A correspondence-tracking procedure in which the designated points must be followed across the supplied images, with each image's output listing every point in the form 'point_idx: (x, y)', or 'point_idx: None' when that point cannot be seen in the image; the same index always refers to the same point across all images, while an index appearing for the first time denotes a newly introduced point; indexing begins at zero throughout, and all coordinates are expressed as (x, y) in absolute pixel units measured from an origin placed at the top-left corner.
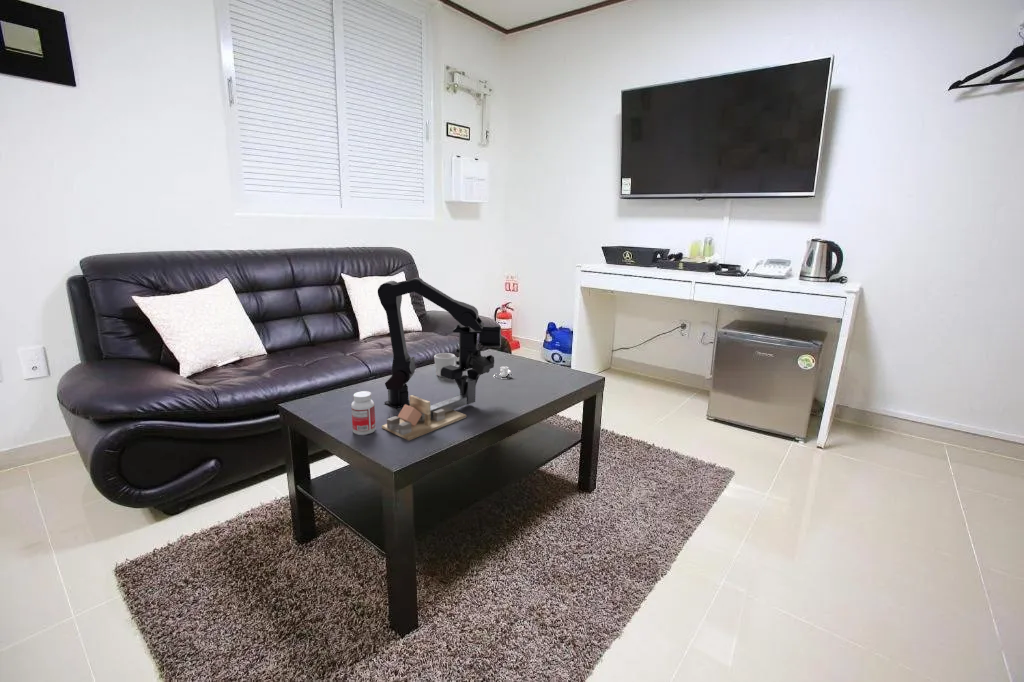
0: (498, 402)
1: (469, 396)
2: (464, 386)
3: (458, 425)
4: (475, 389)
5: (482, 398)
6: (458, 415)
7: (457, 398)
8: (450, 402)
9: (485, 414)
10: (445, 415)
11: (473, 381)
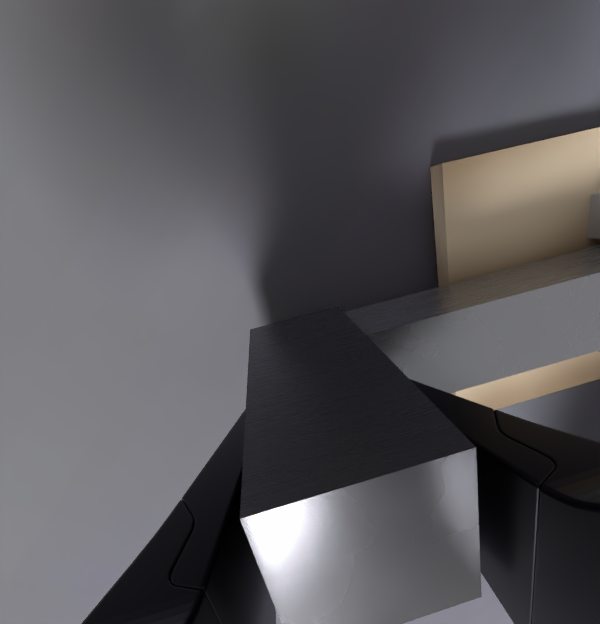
0: (27, 287)
1: (337, 335)
2: (470, 410)
3: (564, 62)
4: (247, 389)
5: (121, 418)
6: (491, 187)
7: (455, 348)
8: (564, 293)
9: (275, 117)
10: (549, 243)
11: (302, 478)
